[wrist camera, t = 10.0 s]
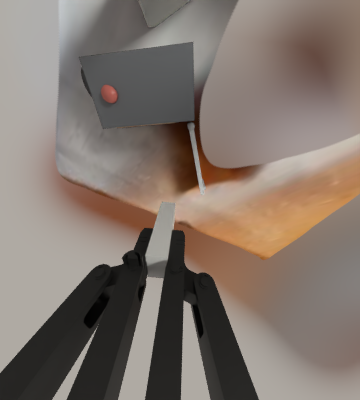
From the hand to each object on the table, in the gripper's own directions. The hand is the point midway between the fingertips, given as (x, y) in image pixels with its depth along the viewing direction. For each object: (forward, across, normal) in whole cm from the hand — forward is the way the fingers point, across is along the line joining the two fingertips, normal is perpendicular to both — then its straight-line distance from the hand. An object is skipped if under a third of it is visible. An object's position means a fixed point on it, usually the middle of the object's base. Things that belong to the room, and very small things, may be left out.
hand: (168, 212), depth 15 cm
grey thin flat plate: (+26, +4, 0) cm, 26 cm away
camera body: (+26, -7, +12) cm, 30 cm away
